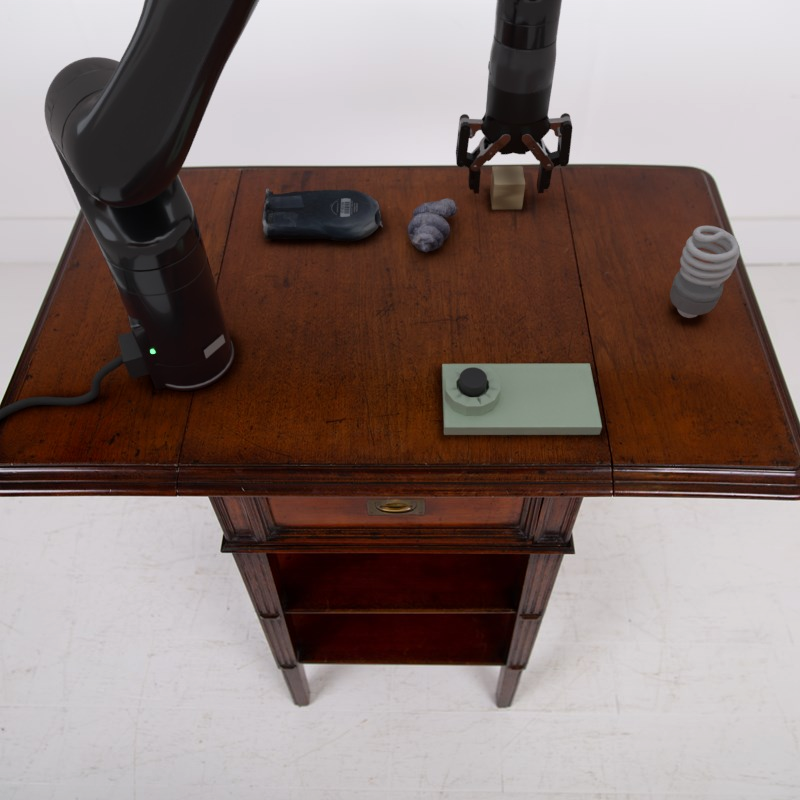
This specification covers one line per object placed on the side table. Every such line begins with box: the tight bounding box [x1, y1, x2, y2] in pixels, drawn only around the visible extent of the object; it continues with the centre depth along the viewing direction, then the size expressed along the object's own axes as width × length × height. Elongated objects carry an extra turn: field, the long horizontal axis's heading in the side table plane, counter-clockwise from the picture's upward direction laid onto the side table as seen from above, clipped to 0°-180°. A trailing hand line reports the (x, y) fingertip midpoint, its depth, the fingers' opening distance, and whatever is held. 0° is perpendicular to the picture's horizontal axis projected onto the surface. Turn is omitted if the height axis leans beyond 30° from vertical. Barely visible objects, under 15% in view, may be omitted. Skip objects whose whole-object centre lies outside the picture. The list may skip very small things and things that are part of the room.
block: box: [489, 165, 526, 211], centre depth 101 cm, size 4×4×4 cm
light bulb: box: [669, 225, 741, 319], centre depth 83 cm, size 6×6×12 cm
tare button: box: [459, 367, 487, 397], centre depth 78 cm, size 3×3×2 cm
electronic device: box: [262, 188, 383, 243], centre depth 98 cm, size 9×6×15 cm
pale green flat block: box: [441, 362, 603, 436], centre depth 79 cm, size 16×9×3 cm, turn 89°
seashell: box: [407, 197, 459, 253], centre depth 96 cm, size 5×5×10 cm
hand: (508, 190), depth 101 cm, fingers open, 8 cm apart
